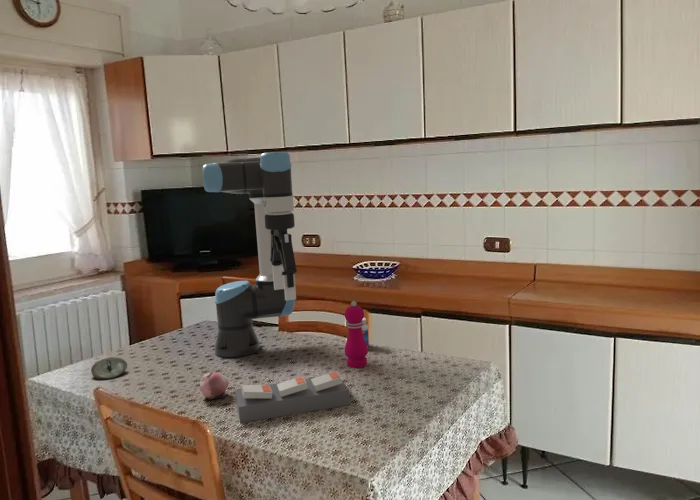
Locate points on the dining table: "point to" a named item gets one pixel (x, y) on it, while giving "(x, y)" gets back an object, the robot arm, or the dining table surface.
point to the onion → (214, 385)
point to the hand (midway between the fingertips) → (284, 294)
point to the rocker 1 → (256, 391)
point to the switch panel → (291, 402)
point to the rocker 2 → (292, 386)
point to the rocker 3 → (326, 381)
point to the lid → (108, 368)
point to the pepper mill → (355, 337)
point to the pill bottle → (365, 332)
